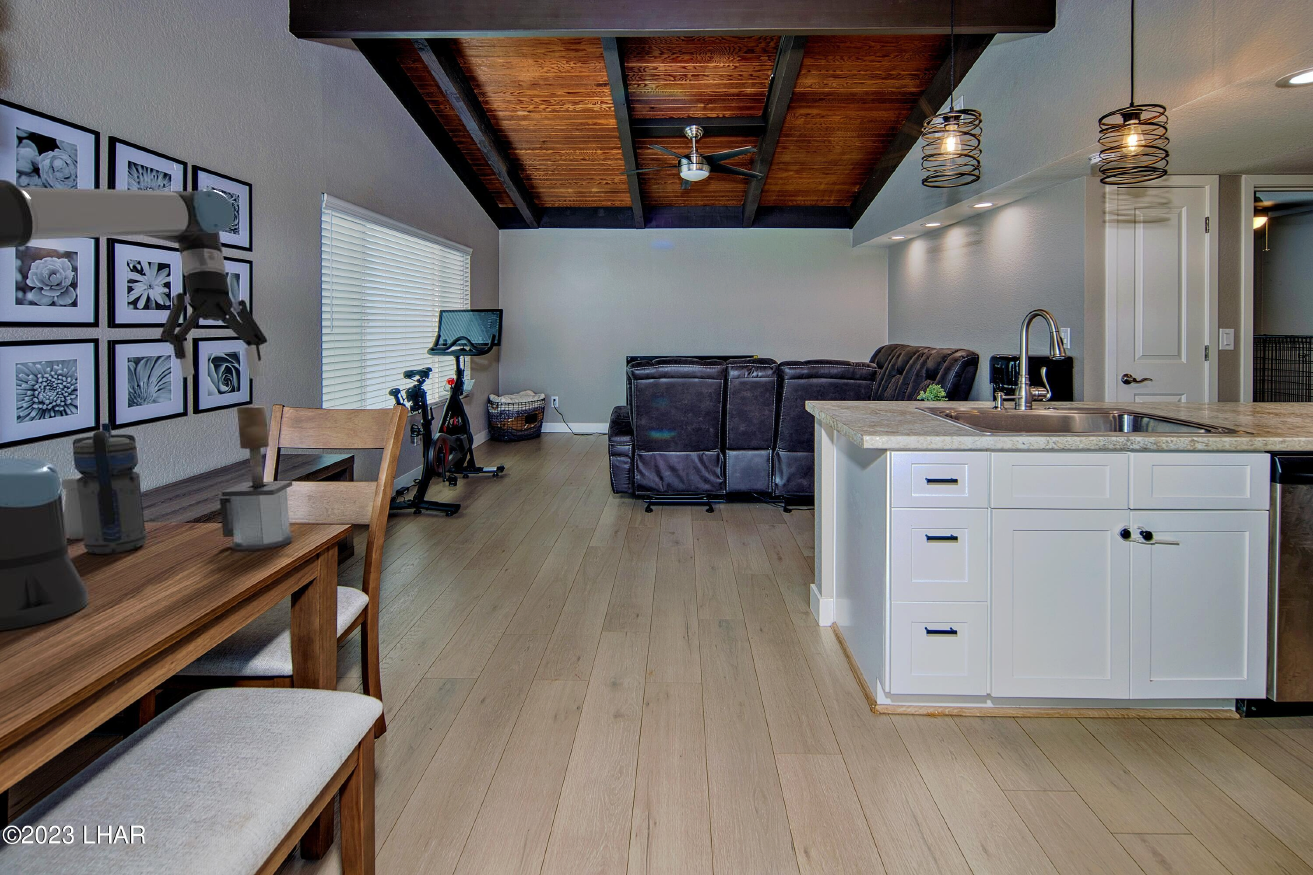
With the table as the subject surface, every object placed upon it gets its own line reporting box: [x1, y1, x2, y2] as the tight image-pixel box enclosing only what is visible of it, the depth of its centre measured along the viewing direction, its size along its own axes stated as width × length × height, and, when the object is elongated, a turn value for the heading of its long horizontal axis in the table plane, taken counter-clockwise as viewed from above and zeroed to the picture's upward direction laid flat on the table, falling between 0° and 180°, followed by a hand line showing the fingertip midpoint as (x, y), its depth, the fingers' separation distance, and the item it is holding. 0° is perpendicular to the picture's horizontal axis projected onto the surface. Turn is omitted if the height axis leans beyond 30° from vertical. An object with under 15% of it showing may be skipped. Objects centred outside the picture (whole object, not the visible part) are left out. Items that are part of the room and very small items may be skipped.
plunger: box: [236, 405, 270, 487], centre depth 147 cm, size 5×5×16 cm
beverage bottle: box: [72, 422, 147, 555], centre depth 145 cm, size 10×13×25 cm
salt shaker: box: [61, 475, 84, 540], centre depth 156 cm, size 6×6×13 cm
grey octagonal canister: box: [219, 480, 294, 552], centre depth 149 cm, size 12×11×12 cm
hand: (223, 376), depth 149 cm, fingers open, 13 cm apart
